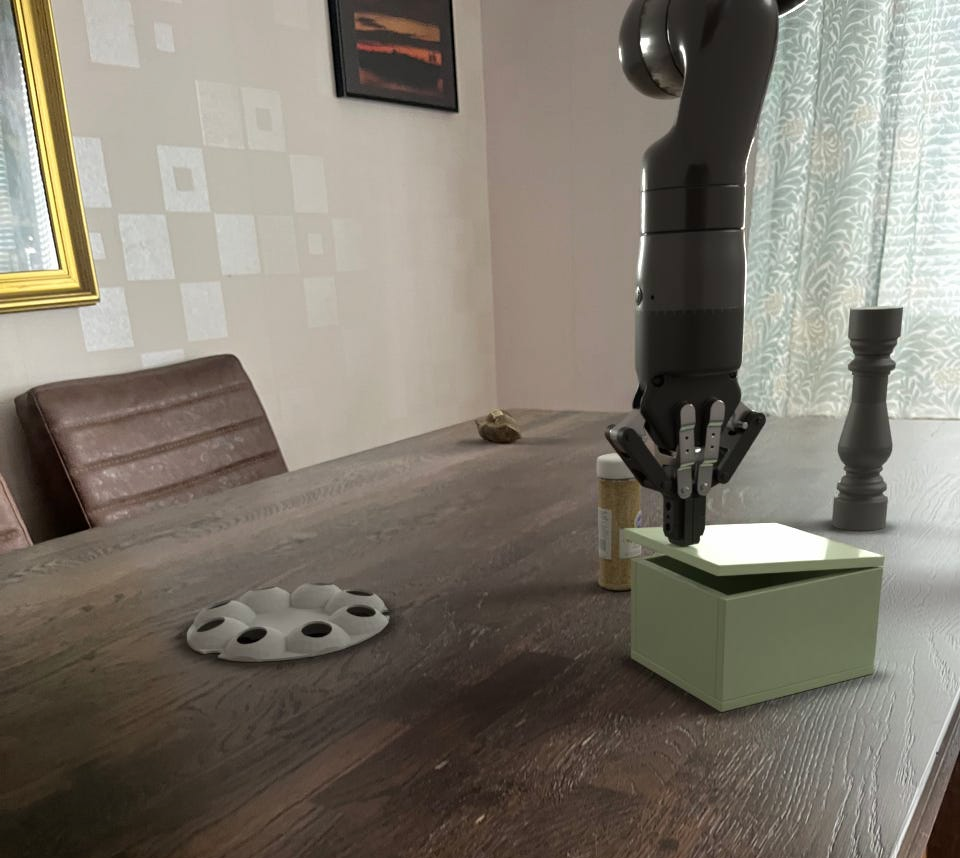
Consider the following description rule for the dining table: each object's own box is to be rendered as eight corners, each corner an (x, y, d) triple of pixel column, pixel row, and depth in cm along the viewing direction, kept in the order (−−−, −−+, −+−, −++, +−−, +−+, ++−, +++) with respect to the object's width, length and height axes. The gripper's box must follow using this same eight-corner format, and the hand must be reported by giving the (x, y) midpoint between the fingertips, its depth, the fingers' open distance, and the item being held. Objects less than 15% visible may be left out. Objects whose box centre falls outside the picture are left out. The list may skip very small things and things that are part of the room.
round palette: (424, 630, 94) (422, 610, 93) (219, 679, 85) (215, 657, 84) (344, 581, 110) (342, 564, 109) (164, 618, 101) (161, 599, 101)
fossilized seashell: (464, 427, 193) (487, 443, 185) (481, 397, 192) (505, 411, 184) (493, 443, 197) (517, 459, 190) (510, 413, 196) (534, 427, 188)
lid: (717, 576, 70) (718, 565, 70) (622, 537, 81) (623, 528, 81) (883, 566, 76) (885, 556, 76) (774, 531, 87) (776, 522, 87)
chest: (721, 712, 74) (725, 599, 71) (630, 658, 85) (630, 558, 82) (873, 673, 79) (883, 566, 76) (770, 627, 90) (775, 532, 87)
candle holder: (880, 532, 117) (900, 308, 108) (825, 528, 120) (841, 310, 112) (890, 520, 122) (910, 305, 113) (838, 516, 125) (854, 306, 117)
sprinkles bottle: (641, 591, 101) (642, 459, 97) (596, 591, 102) (595, 460, 97) (642, 578, 106) (642, 451, 101) (598, 578, 106) (597, 452, 102)
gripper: (636, 309, 64) (635, 569, 70) (801, 297, 69) (787, 541, 75) (579, 307, 70) (582, 545, 77) (734, 296, 75) (725, 521, 81)
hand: (683, 543), depth 76 cm, fingers closed
